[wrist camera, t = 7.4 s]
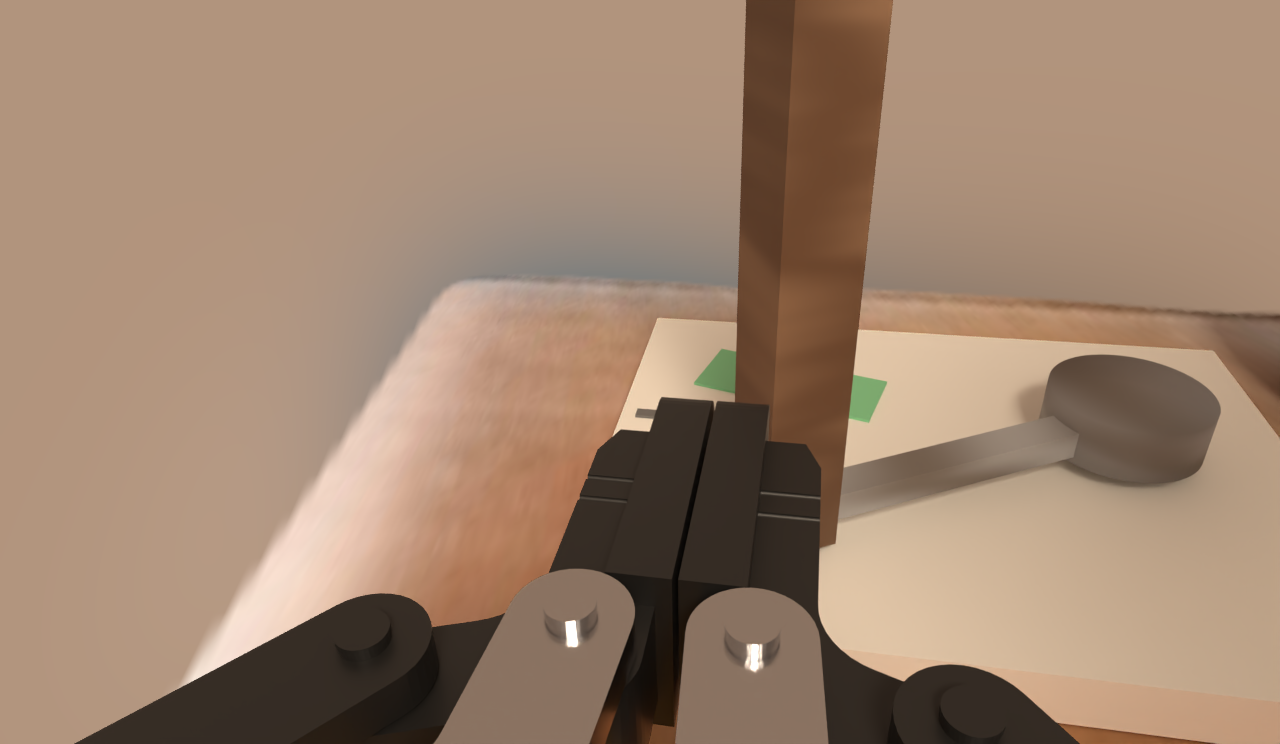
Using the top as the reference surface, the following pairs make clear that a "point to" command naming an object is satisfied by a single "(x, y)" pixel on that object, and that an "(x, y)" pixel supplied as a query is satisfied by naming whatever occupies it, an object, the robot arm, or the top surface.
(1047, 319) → the top surface
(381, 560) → the top surface
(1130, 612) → the dial plate
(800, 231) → the brown grey l-shaped piece
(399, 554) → the top surface
